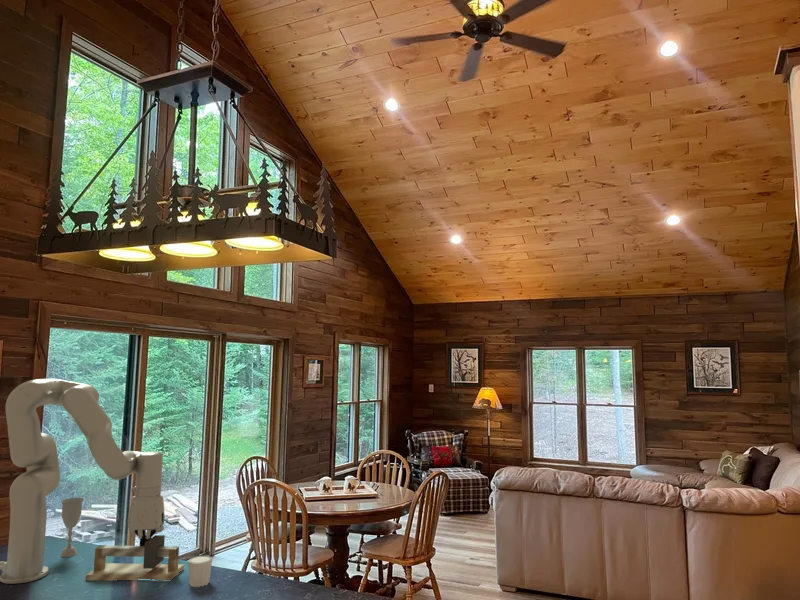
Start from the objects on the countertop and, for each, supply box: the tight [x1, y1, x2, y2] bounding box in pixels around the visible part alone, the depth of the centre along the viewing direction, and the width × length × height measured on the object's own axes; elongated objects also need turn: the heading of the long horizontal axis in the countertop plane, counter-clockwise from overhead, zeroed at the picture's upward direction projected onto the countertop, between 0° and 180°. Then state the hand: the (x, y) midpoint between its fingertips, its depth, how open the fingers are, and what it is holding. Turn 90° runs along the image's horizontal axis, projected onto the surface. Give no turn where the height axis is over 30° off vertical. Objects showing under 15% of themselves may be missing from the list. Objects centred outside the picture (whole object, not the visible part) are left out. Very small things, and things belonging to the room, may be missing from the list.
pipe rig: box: [85, 544, 185, 582], centre depth 179 cm, size 26×10×8 cm, turn 90°
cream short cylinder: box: [188, 555, 213, 588], centre depth 173 cm, size 7×7×7 cm
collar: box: [143, 534, 166, 569], centre depth 179 cm, size 3×8×8 cm, turn 0°
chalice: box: [59, 497, 84, 558], centre depth 197 cm, size 7×7×18 cm
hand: (145, 550), depth 182 cm, fingers closed
